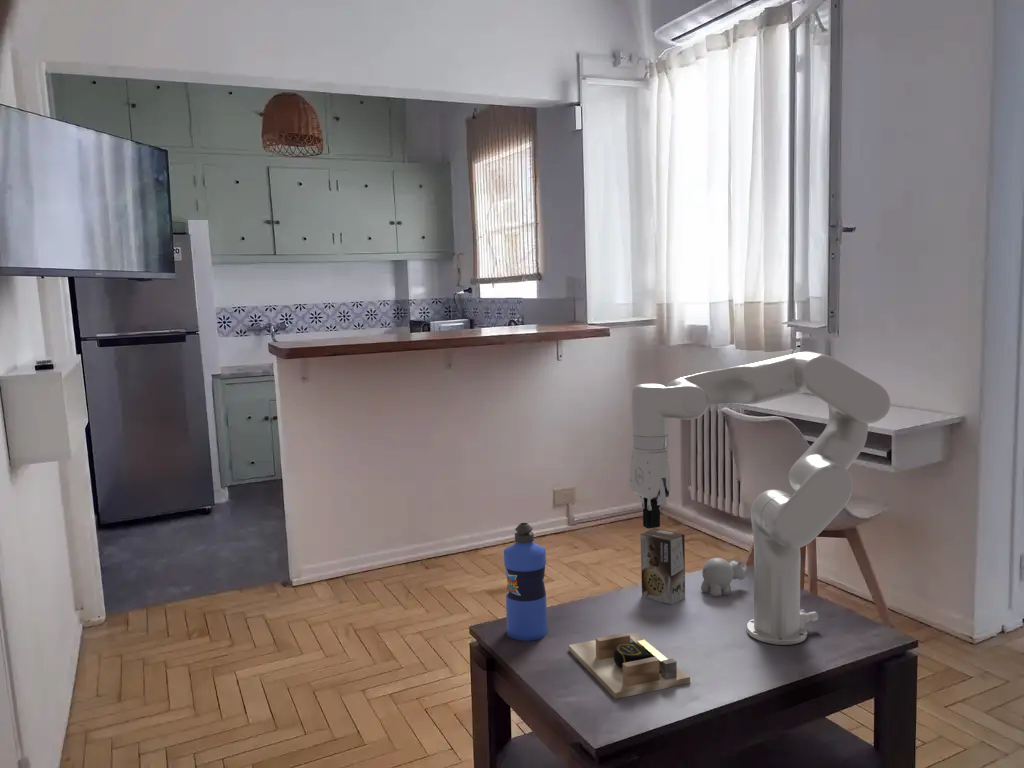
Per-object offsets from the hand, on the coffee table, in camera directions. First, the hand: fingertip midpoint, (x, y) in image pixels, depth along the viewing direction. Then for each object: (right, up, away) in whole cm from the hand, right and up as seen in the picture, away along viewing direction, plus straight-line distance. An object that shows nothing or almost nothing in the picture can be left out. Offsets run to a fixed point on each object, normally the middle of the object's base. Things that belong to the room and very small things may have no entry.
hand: (651, 526), depth 171 cm
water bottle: (-26, -25, +8) cm, 38 cm away
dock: (-7, -27, -9) cm, 29 cm away
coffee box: (+8, -22, +26) cm, 35 cm away
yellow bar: (-2, -25, -11) cm, 27 cm away
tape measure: (-6, -26, -12) cm, 29 cm away
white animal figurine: (+24, -21, +29) cm, 43 cm away
